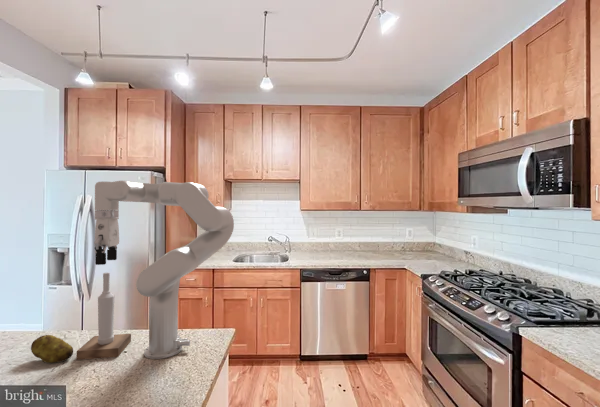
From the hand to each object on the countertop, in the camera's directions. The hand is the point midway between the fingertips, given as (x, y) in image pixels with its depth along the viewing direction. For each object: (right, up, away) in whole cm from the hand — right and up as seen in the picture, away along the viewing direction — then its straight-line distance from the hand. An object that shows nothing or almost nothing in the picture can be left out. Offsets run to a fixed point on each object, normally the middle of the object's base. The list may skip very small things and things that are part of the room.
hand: (106, 262), depth 116 cm
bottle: (0, -29, 0) cm, 29 cm away
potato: (-14, -32, -8) cm, 36 cm away
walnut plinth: (0, -32, 0) cm, 32 cm away
